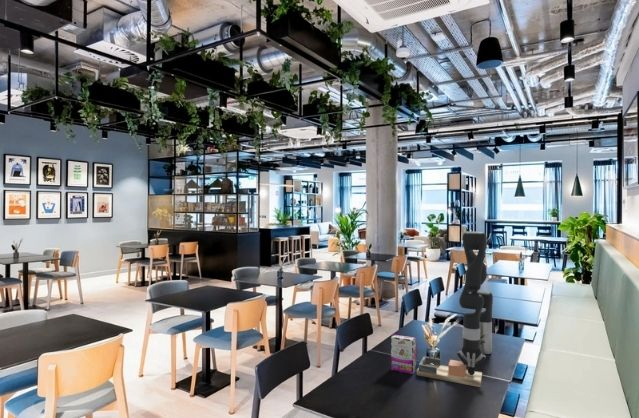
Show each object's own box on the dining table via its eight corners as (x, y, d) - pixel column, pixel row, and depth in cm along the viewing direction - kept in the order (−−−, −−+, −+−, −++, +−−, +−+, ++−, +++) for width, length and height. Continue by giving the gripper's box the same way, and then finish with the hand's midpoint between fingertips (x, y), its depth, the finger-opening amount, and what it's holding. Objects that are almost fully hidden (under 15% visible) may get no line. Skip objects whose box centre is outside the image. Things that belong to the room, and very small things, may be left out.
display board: (421, 365, 198) (421, 355, 198) (482, 376, 186) (482, 366, 186) (416, 374, 188) (416, 364, 188) (480, 387, 175) (480, 375, 175)
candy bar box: (415, 371, 192) (416, 337, 192) (413, 374, 188) (413, 340, 188) (393, 366, 197) (393, 333, 197) (390, 370, 193) (390, 336, 193)
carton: (450, 369, 190) (450, 359, 190) (465, 371, 187) (466, 362, 187) (448, 374, 184) (448, 364, 184) (464, 377, 181) (464, 367, 181)
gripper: (487, 336, 183) (487, 373, 183) (457, 332, 189) (457, 368, 189) (486, 341, 176) (486, 380, 176) (455, 337, 182) (455, 374, 182)
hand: (471, 374), depth 183 cm, fingers closed
